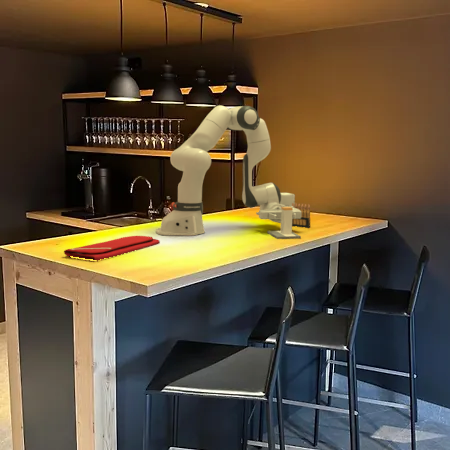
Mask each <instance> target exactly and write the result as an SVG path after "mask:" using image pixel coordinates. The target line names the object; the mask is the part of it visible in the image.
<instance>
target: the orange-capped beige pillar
mask: <svg viewBox="0 0 450 450" xmlns="http://www.w3.org/2000/svg"><path fill="white" fill-rule="evenodd" d="M292 212H293V208H291V207H281V223H280V231H281V233H282V234H292V232H293V231H292V230H293V226H292Z"/></svg>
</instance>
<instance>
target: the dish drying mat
mask: <svg viewBox="0 0 450 450" xmlns="http://www.w3.org/2000/svg"><path fill="white" fill-rule="evenodd" d="M160 243H161V241H160V240H159V239H156V238H153V236H149V235H147V236H146V235H131V236H130V235H129V236H123V237H119V238H115V239H111V240H108V241H103V242H97V243H92V244H88V245H83V246H78V247H74V248H73V247H72V248H67V249H65V250H64V251H63V254H64V255H65V256H67V257H68V256H73V257H79V258H85V259H93V260H100V259H104V258H108V259H110V258H109V257H112V258H114V257H113V256H115V257H118V256H117V255H119V256H121V254H122V255H125V254H124V253H126V254H129V253H132V251H133V252H135V250H136V251H140V250H142V249H145V248H149V247H152V246H153V247H154V246H155V245H159V244H160ZM128 252H129V253H128Z"/></svg>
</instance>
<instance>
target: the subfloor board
mask: <svg viewBox="0 0 450 450" xmlns="http://www.w3.org/2000/svg"><path fill="white" fill-rule="evenodd" d="M267 234H268V235H270V236H271V237H272V238H275V239H277V240H283V239H284V240H287V239H289V240H291V239H297V240H298V239H301V237H302V236H301V235H299V234H297V233H295V232H294V231H292V234H282V233H281V230H267Z"/></svg>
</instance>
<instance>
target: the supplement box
mask: <svg viewBox="0 0 450 450" xmlns="http://www.w3.org/2000/svg"><path fill="white" fill-rule="evenodd" d="M280 193H281V202H280V204H281V205H287V206H292V203H294V205H295V204H296V202H295V201H296V199H295V198H296V195H295V194H294V193H290V192H280ZM278 223H279V224H281V221H279V222H278Z"/></svg>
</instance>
